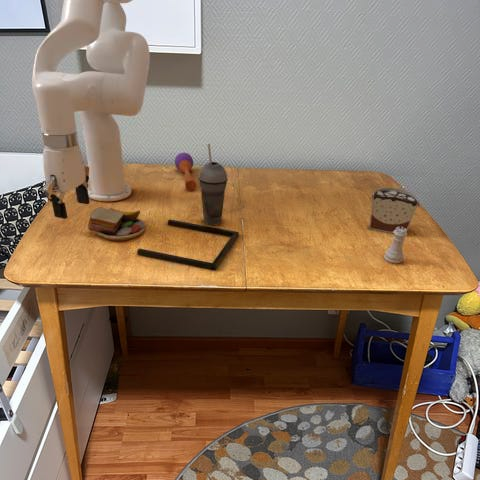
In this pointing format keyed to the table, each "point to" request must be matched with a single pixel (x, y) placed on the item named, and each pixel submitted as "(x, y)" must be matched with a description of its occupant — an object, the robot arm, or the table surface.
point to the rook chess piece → (396, 246)
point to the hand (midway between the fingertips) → (72, 210)
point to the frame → (193, 262)
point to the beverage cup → (212, 190)
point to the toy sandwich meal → (115, 224)
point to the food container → (392, 209)
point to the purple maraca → (186, 169)
